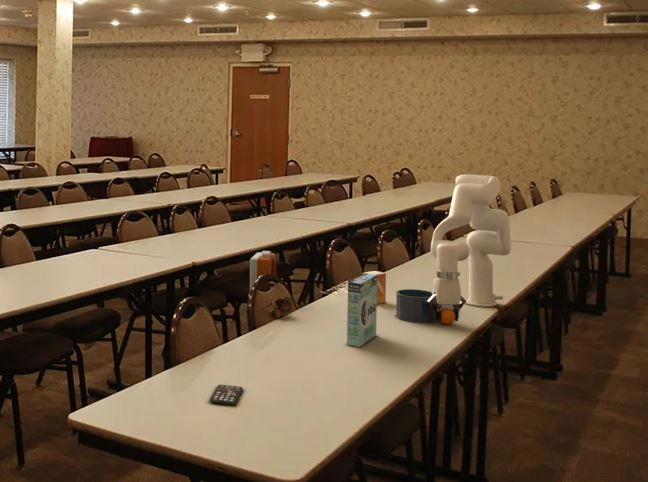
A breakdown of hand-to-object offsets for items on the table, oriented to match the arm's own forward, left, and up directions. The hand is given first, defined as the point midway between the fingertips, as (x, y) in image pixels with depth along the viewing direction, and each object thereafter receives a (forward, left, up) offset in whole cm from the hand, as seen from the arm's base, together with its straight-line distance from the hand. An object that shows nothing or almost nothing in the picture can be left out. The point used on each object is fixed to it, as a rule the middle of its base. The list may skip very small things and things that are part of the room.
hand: (446, 320), depth 324 cm
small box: (+12, -39, -2) cm, 41 cm away
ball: (0, 0, -2) cm, 2 cm away
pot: (+7, -11, -2) cm, 13 cm away
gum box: (+43, +18, -2) cm, 46 cm away
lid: (-9, -25, -1) cm, 27 cm away
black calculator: (+108, +70, -2) cm, 129 cm away
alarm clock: (+57, -56, -2) cm, 80 cm away
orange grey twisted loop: (+62, -21, -2) cm, 65 cm away
